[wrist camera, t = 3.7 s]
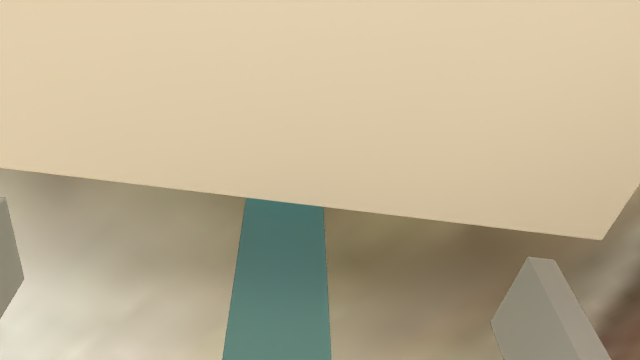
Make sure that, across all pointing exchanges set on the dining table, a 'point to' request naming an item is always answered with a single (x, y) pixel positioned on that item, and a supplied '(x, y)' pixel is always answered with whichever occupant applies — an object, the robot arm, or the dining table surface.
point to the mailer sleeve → (337, 103)
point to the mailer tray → (280, 285)
